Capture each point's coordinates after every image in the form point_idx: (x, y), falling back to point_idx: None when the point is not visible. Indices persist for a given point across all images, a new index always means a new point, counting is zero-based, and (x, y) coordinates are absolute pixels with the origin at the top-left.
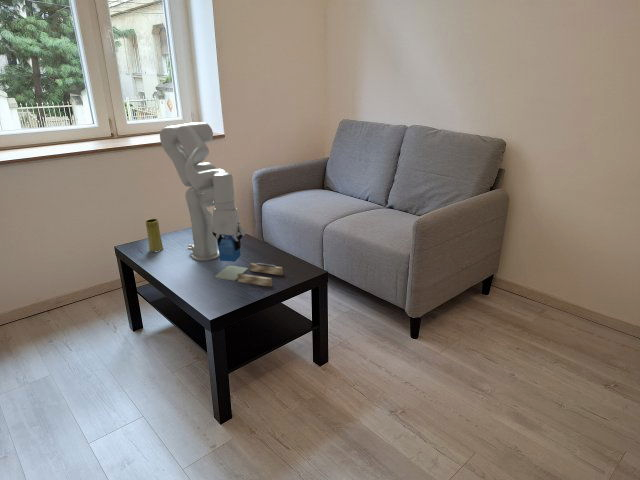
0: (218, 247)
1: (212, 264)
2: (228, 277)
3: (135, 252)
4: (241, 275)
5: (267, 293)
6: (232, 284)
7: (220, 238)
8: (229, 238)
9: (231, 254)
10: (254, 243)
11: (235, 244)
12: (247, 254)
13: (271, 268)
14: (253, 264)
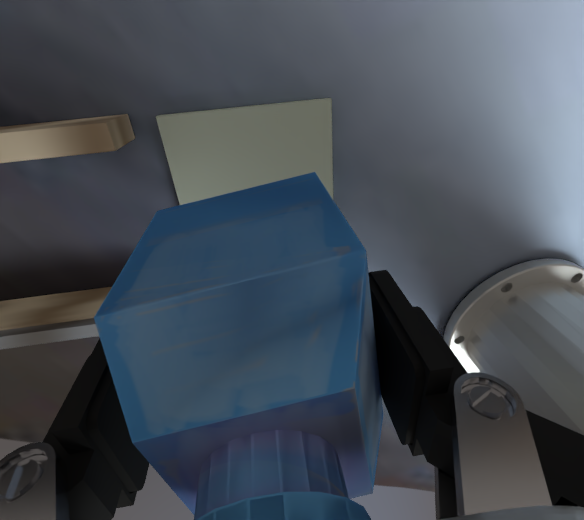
0: (390, 277)
1: (438, 255)
2: (222, 127)
3: None
4: (65, 126)
5: None
6: (127, 49)
7: (422, 413)
8: (209, 465)
9: (169, 240)
10: None
11: (85, 379)
12: None
13: (6, 321)
14: None
